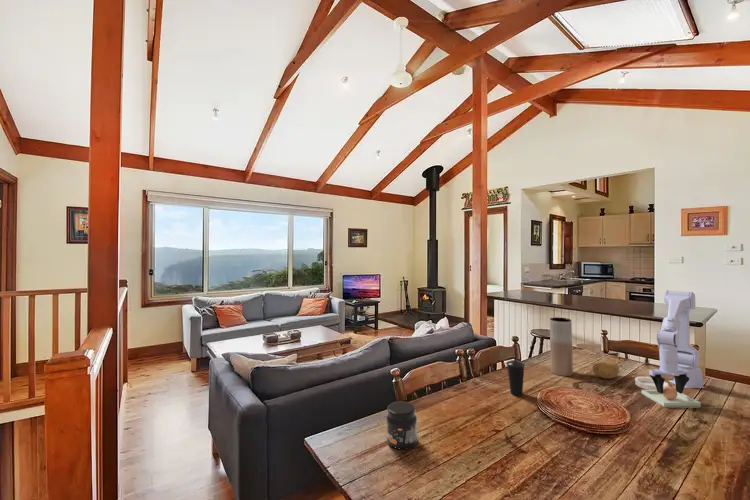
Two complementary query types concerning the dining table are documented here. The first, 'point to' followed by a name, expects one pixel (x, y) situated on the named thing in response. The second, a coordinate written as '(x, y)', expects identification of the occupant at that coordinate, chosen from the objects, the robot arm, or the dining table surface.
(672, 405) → the tray
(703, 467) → the dining table surface
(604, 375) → the potato
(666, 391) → the ball
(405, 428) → the supplement container
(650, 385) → the dish
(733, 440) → the dining table surface
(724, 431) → the dining table surface
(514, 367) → the drinking cup
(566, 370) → the vase
